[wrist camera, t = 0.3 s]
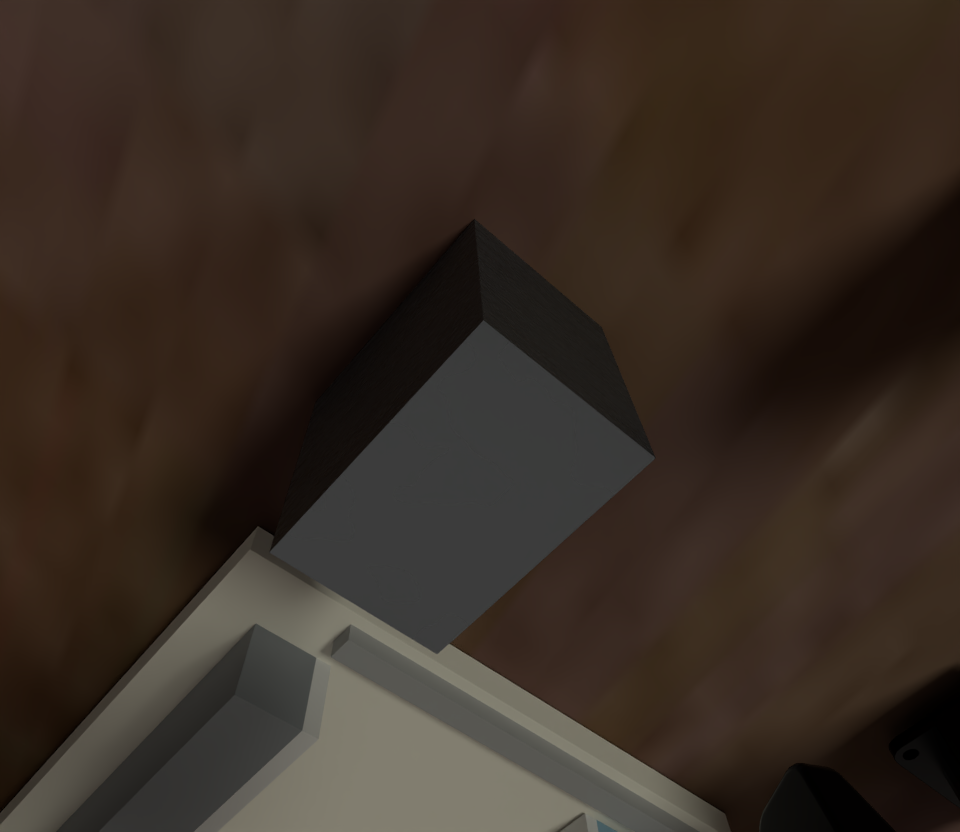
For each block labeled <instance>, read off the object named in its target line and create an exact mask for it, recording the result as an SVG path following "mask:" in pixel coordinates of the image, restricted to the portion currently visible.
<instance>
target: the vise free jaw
mask: <svg viewBox="0 0 960 832" xmlns="http://www.w3.org/2000/svg"><path fill="white" fill-rule="evenodd" d="M560 832H617V831H616V830H614V829H612V828H610V827H609V826H607V825H605V824H603V823H601V822H600V821H598V820H596V819H594V818H593V817H591V816H589V815H587V814H586V813H585V814H584V815H582V816H581V817H579V818H578V819H577V820H575V821H574V822H573V823H571V824H570V825H568V826H567V827H566V828H564V829H563V830H562V831H560Z"/></svg>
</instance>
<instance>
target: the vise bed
mask: <svg viewBox="0 0 960 832" xmlns="http://www.w3.org/2000/svg"><path fill="white" fill-rule="evenodd" d="M273 539H274V536H273V535H272V534H270V533H268V532H267V531H265V530H263V529H262V528H260V527H259V526H258V527H257V528H256V529H255V530H254V531H253V532H252V534H251V535H250V536H249V537H248V538H247V539H246V540H245V541H244V542H243V544H242V545H241V546H240V547H239V548H238V549H237V550H236V551H235V552H234V554H233V555H232V556H231V557H230V558H229V559H228V560H227V561H226V562H225V564H224V565H223V566H222V567H221V568H220V569H219V570H218V571H217V572H216V574H215V575H214V576H213V577H212V578H211V579H210V580H209V581H208V582H207V584H206V585H205V586H204V587H203V588H202V589H201V590H200V591H199V592H198V594H197V595H196V596H195V597H194V598H193V599H192V600H191V601H190V602H189V604H188V605H187V606H186V607H185V608H184V609H183V610H182V611H181V612H180V614H179V615H178V616H177V617H176V618H175V619H174V620H173V621H172V623H171V624H170V625H169V626H168V627H167V628H166V629H165V630H164V631H163V633H162V634H161V635H160V636H159V637H158V638H157V639H156V640H155V641H154V643H153V644H152V645H151V646H150V647H149V648H148V649H147V650H146V651H145V653H144V654H143V655H142V656H141V657H140V658H139V659H138V660H137V661H136V663H135V664H134V665H133V666H132V667H131V668H130V669H129V670H128V671H127V673H126V674H125V675H124V676H123V677H122V678H121V679H120V680H119V681H118V683H117V684H116V685H115V686H114V687H113V688H112V689H111V690H110V691H109V693H108V694H107V695H106V696H105V697H104V698H103V699H102V700H101V701H100V703H99V704H98V705H97V706H96V707H95V708H94V709H93V710H92V712H91V713H90V714H89V715H88V716H87V717H86V718H85V719H84V720H83V722H82V723H81V724H80V725H79V726H78V727H77V728H76V729H75V730H74V732H73V733H72V734H71V735H70V736H69V737H68V738H67V739H66V740H65V742H64V743H63V744H62V745H61V746H60V747H59V748H58V749H57V750H56V752H55V753H54V754H53V755H52V756H51V757H50V758H49V759H48V760H47V762H46V763H45V764H44V765H43V766H42V767H41V768H40V769H39V770H38V772H37V773H36V774H35V775H34V776H33V777H32V778H31V779H30V780H29V782H28V783H27V784H26V785H25V786H24V787H23V788H22V789H21V790H20V792H19V793H18V794H17V795H16V796H15V797H14V798H13V799H12V800H11V802H10V803H9V804H8V805H7V806H6V807H5V808H4V809H3V811H2V812H1V813H0V832H560V831H562V830H563V829H564V828H566V827H567V826H568V825H570V824H571V823H573V822H574V821H575V820H577V819H578V818H579V817H581V816H582V815H584V814H585V813H586V814H587V815H589V816H591V817H593V818H594V819H596V820H598V821H600V822H601V823H603V824H605V825H607V826H609V827H610V828H612V829H614V830H616V831H617V832H731V830H730V827H729V824H728V821H727V818H726V815H725V813H723V812H721V811H720V810H718V809H717V808H715V807H713V806H712V805H710V804H708V803H707V802H705V801H704V800H702V799H700V798H699V797H697V796H695V795H694V794H692V793H691V792H689V791H687V790H686V789H684V788H682V787H681V786H679V785H678V784H676V783H674V782H673V781H671V780H669V779H668V778H666V777H665V776H663V775H661V774H660V773H658V772H656V771H655V770H653V769H652V768H650V767H648V766H647V765H645V764H643V763H642V762H640V761H639V760H637V759H635V758H634V757H632V756H630V755H629V754H627V753H626V752H624V751H622V750H621V749H619V748H617V747H616V746H614V745H613V744H611V743H609V742H608V741H606V740H605V739H603V738H601V737H600V736H598V735H596V734H595V733H593V732H592V731H590V730H588V729H587V728H585V727H583V726H582V725H580V724H579V723H577V722H575V721H574V720H572V719H570V718H569V717H567V716H566V715H564V714H562V713H561V712H559V711H557V710H556V709H554V708H553V707H551V706H549V705H548V704H546V703H544V702H543V701H541V700H540V699H538V698H536V697H535V696H533V695H531V694H530V693H528V692H527V691H525V690H523V689H522V688H520V687H518V686H517V685H515V684H514V683H512V682H510V681H509V680H507V679H505V678H504V677H502V676H501V675H499V674H497V673H496V672H494V671H492V670H491V669H489V668H488V667H486V666H484V665H483V664H481V663H479V662H478V661H476V660H475V659H473V658H471V657H470V656H468V655H466V654H465V653H463V652H462V651H460V650H458V649H457V648H455V647H453V646H452V645H450V644H448V645H447V646H446V647H445V648H444V649H443V650H442V651H440V652H439V653H438V654H436V653H434V652H432V651H431V650H429V649H427V648H426V647H424V646H422V645H421V644H419V643H417V642H416V641H414V640H412V639H411V638H409V637H408V636H406V635H404V634H403V633H401V632H399V631H398V630H396V629H394V628H393V627H391V626H389V625H388V624H386V623H384V622H383V621H381V620H380V619H378V618H376V617H375V616H373V615H371V614H370V613H368V612H366V611H365V610H363V609H361V608H360V607H358V606H356V605H355V604H353V603H352V602H350V601H348V600H347V599H345V598H343V597H342V596H340V595H338V594H337V593H335V592H333V591H332V590H330V589H328V588H327V587H325V586H324V585H322V584H320V583H319V582H317V581H315V580H314V579H312V578H310V577H309V576H307V575H305V574H304V573H302V572H300V571H299V570H297V569H296V568H294V567H292V566H291V565H289V564H287V563H286V562H284V561H282V560H281V559H279V558H277V557H276V556H274V555H272V554H271V553H269V552H270V548H271V545H272V542H273Z"/></svg>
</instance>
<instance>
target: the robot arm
mask: <svg viewBox="0 0 960 832" xmlns="http://www.w3.org/2000/svg"><path fill="white" fill-rule="evenodd" d="M889 750H890V752H891V753H892V755H893V757H894V759H895V760H896V762H897V763H898V764H900V765H901V766H902V767H904V768H905V769H907V770H908V771H909V772H911V773H912V774H913V775H915V776H916V777H918V778H919V779H920V780H922V781H923V782H924V783H926V784H927V785H929V786H930V787H931V788H933V789H934V790H936V791H937V792H938V793H940V794H941V795H942V796H944V797H945V798H947V799H948V800H949V801H951V802H952V803H953V804H955V805H956V806H958V807H959V808H960V695H959V696H958V697H956V698H955V699H953V700H952V701H950V702H949V703H947V704H946V705H944V706H943V707H941V708H940V709H938V710H936V711H935V712H933V713H932V714H930V715H929V716H927V717H926V718H924V719H923V720H921V721H920V722H918V723H917V724H915V725H913V726H912V727H910V728H909V729H907V730H906V731H904V732H903V733H901V734H900V735H898V736H897V737H895V738H894V739H893V740H892V741H891V742H890V744H889ZM759 832H896V831H895V830H894V829H893V828H892V827H891V826H890V825H889V824H888V823H887V822H886V821H885V820H884V819H883V818H882V817H881V816H880V815H879V814H878V813H877V812H876V811H875V810H874V809H873V808H872V807H871V805H870V804H869V803H868V802H867V801H866V800H865V799H864V798H863V797H862V796H861V795H860V794H859V793H858V792H857V791H856V790H855V789H854V788H853V787H852V786H851V785H850V784H849V783H848V782H847V781H846V780H845V779H844V778H843V777H842V776H841V775H840V774H839V773H838V772H836V771H835V770H833V769H831V768H828V767H822V766H816V765H810V764H804V763H796V764H794V765H793V766H791V767H789V769H788V770H787V771H786V773H785V775H784V776H783V778H782V780H781V781H780V783H779V785H778V787H777V788H776V790H775V792H774V793H773V795H772V797H771V798H770V800H769V802H768V803H767V805H766V807H765V808H764V811H763V813H762V816H761V820H760V827H759Z"/></svg>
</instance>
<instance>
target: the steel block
mask: <svg viewBox="0 0 960 832" xmlns="http://www.w3.org/2000/svg"><path fill="white" fill-rule="evenodd" d="M654 459H655V455H654V453H653V451H652V448H651V446H650V443H649V441H648V438H647V436H646V434H645V431H644V429H643V426H642V424H641V421H640V419H639V417H638V414H637V412H636V409H635V407H634V404H633V402H632V400H631V397H630V395H629V392H628V390H627V387H626V385H625V383H624V380H623V378H622V375H621V373H620V371H619V368H618V366H617V363H616V361H615V358H614V356H613V354H612V351H611V349H610V346H609V344H608V341H607V339H606V337H605V334H604V332H603V329H602V327H601V326H600V325H599V324H597V323H596V322H595V321H594V320H593V319H591V318H590V317H589V316H588V315H587V314H586V313H584V312H583V311H582V310H581V309H580V308H579V307H577V306H576V305H575V304H574V303H573V302H572V301H570V300H569V299H568V298H567V297H566V296H564V295H563V294H562V293H561V292H560V291H559V290H557V289H556V288H555V287H554V286H553V285H552V284H550V283H549V282H548V281H547V280H546V279H544V278H543V277H542V276H541V275H540V274H539V273H537V272H536V271H535V270H534V269H533V268H532V267H530V266H529V265H528V264H527V263H526V262H524V261H523V260H522V259H521V258H520V257H519V256H517V255H516V254H515V253H514V252H513V251H512V250H510V249H509V248H508V247H507V246H506V245H504V244H503V243H502V242H501V241H500V240H499V239H497V238H496V237H495V236H494V235H493V234H492V233H490V232H489V231H488V230H487V229H486V228H484V227H483V226H482V225H481V224H480V223H479V222H477V221H476V220H475V219H474V220H473V221H472V222H471V223H470V225H469V226H468V227H467V228H466V229H465V230H464V232H463V233H462V234H461V235H460V236H459V237H458V238H457V240H456V241H455V242H454V243H453V244H452V245H451V247H450V248H449V249H448V250H447V251H446V252H445V253H444V255H443V256H442V257H441V258H440V259H439V260H438V262H437V263H436V264H435V265H434V266H433V267H432V269H431V270H430V271H429V272H428V273H427V274H426V275H425V277H424V278H423V279H422V280H421V281H420V282H419V284H418V285H417V286H416V287H415V288H414V289H413V290H412V292H411V293H410V294H409V295H408V296H407V297H406V299H405V300H404V301H403V302H402V303H401V304H400V305H399V307H398V308H397V309H396V310H395V311H394V312H393V314H392V315H391V316H390V317H389V318H388V319H387V320H386V322H385V323H384V324H383V325H382V326H381V327H380V329H379V330H378V331H377V332H376V333H375V334H374V335H373V337H372V338H371V339H370V340H369V341H368V342H367V344H366V345H365V346H364V347H363V348H362V349H361V350H360V352H359V353H358V354H357V355H356V356H355V357H354V359H353V360H352V361H351V362H350V363H349V364H348V365H347V367H346V368H345V369H344V370H343V371H342V372H341V374H340V375H339V376H338V377H337V378H336V379H335V381H334V382H333V383H332V384H331V385H330V386H329V387H328V389H327V390H326V391H325V392H324V393H323V394H322V396H321V397H320V398H319V399H318V400H317V401H316V403H315V406H314V409H313V412H312V416H311V419H310V422H309V425H308V429H307V432H306V435H305V438H304V442H303V445H302V448H301V451H300V454H299V458H298V461H297V464H296V467H295V471H294V474H293V477H292V480H291V484H290V487H289V490H288V493H287V497H286V500H285V503H284V506H283V509H282V513H281V516H280V519H279V522H278V526H277V529H276V532H275V535H274V539H273V542H272V545H271V548H270V552H269V553H271V554H272V555H274V556H276V557H277V558H279V559H281V560H282V561H284V562H286V563H287V564H289V565H291V566H292V567H294V568H296V569H297V570H299V571H300V572H302V573H304V574H305V575H307V576H309V577H310V578H312V579H314V580H315V581H317V582H319V583H320V584H322V585H324V586H325V587H327V588H328V589H330V590H332V591H333V592H335V593H337V594H338V595H340V596H342V597H343V598H345V599H347V600H348V601H350V602H352V603H353V604H355V605H356V606H358V607H360V608H361V609H363V610H365V611H366V612H368V613H370V614H371V615H373V616H375V617H376V618H378V619H380V620H381V621H383V622H384V623H386V624H388V625H389V626H391V627H393V628H394V629H396V630H398V631H399V632H401V633H403V634H404V635H406V636H408V637H409V638H411V639H412V640H414V641H416V642H417V643H419V644H421V645H422V646H424V647H426V648H427V649H429V650H431V651H432V652H434V653H436V654H438V653H439V652H440V651H442V650H443V649H444V648H445V647H446V646H447V645H448V644H449V643H450V642H452V641H453V640H454V639H455V638H456V637H457V636H458V635H459V634H460V633H462V632H463V631H464V630H465V629H466V628H467V627H468V626H469V625H470V624H472V623H473V622H474V621H475V620H476V619H477V618H478V617H479V616H480V615H482V614H483V613H484V612H485V611H486V610H487V609H488V608H489V607H490V606H492V605H493V604H494V603H495V602H496V601H497V600H498V599H499V598H500V597H502V596H503V595H504V594H505V593H506V592H507V591H508V590H509V589H510V588H512V587H513V586H514V585H515V584H516V583H517V582H518V581H519V580H520V579H522V578H523V577H524V576H525V575H526V574H527V573H528V572H529V571H530V570H532V569H533V568H534V567H535V566H536V565H537V564H538V563H539V562H540V561H542V560H543V559H544V558H545V557H546V556H547V555H548V554H549V553H550V552H552V551H553V550H554V549H555V548H556V547H557V546H558V545H559V544H561V543H562V542H563V541H564V540H565V539H566V538H567V537H568V536H569V535H571V534H572V533H573V532H574V531H575V530H576V529H577V528H578V527H579V526H581V525H582V524H583V523H584V522H585V521H586V520H587V519H588V518H589V517H591V516H592V515H593V514H594V513H595V512H596V511H597V510H598V509H599V508H601V507H602V506H603V505H604V504H605V503H606V502H607V501H608V500H609V499H611V498H612V497H613V496H614V495H615V494H616V493H617V492H618V491H619V490H621V489H622V488H623V487H624V486H625V485H626V484H627V483H628V482H629V481H631V480H632V479H633V478H634V477H635V476H636V475H637V474H638V473H639V472H641V471H642V470H643V469H644V468H645V467H646V466H647V465H648V464H649V463H651V462H652V461H653V460H654Z"/></svg>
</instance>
